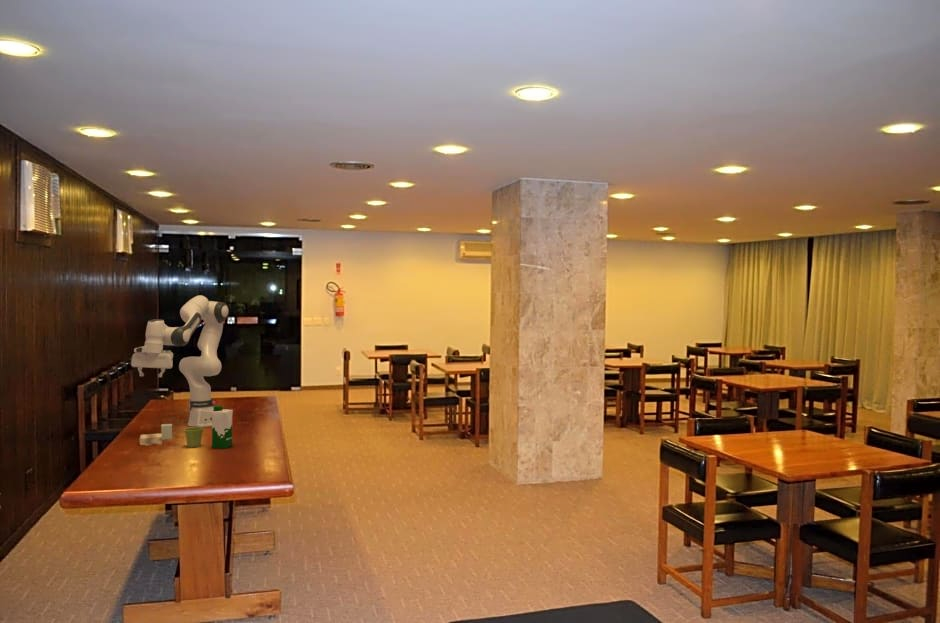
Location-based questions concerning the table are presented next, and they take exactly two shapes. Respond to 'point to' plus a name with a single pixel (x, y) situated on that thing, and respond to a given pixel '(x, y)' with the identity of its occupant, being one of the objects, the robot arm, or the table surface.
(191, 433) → the plant pot
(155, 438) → the birch block
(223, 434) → the milk carton
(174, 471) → the table surface
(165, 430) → the sage block
